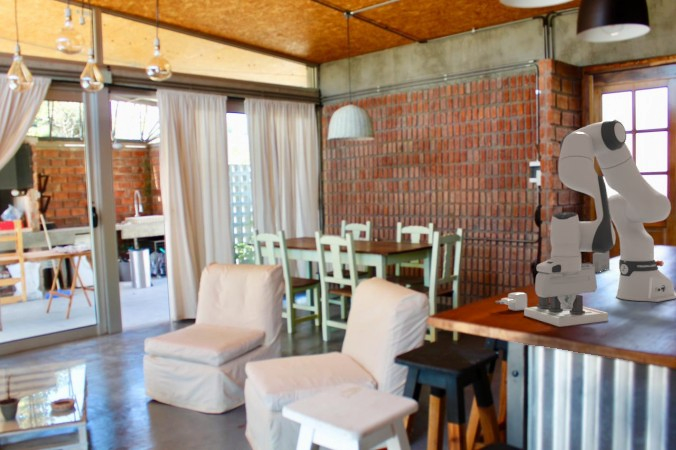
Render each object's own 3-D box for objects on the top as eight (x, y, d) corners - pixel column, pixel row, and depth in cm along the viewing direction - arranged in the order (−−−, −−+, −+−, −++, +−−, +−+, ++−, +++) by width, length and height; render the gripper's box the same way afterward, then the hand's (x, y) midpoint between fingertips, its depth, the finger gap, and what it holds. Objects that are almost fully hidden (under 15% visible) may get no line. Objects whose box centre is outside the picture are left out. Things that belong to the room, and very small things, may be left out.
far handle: (545, 306, 196) (544, 289, 195) (551, 307, 193) (550, 290, 192) (536, 307, 195) (536, 290, 194) (542, 308, 192) (542, 291, 191)
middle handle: (556, 309, 190) (556, 292, 190) (562, 311, 187) (562, 293, 187) (548, 310, 189) (547, 293, 189) (554, 312, 186) (554, 294, 186)
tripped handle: (578, 311, 185) (577, 294, 185) (585, 313, 182) (584, 295, 182) (569, 312, 184) (569, 295, 184) (576, 314, 181) (576, 296, 181)
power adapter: (502, 313, 200) (502, 296, 200) (493, 310, 204) (493, 294, 204) (529, 309, 204) (528, 293, 203) (520, 307, 208) (519, 291, 208)
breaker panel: (570, 310, 200) (569, 302, 200) (608, 320, 183) (608, 312, 183) (524, 315, 195) (524, 307, 195) (559, 326, 178) (558, 318, 178)
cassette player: (603, 268, 295) (603, 248, 294) (609, 268, 293) (609, 249, 292) (593, 272, 283) (592, 252, 283) (598, 272, 281) (598, 252, 281)
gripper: (587, 261, 187) (588, 303, 188) (531, 266, 182) (532, 310, 182) (601, 263, 181) (602, 307, 182) (544, 268, 176) (545, 314, 176)
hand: (567, 308), depth 182 cm, fingers closed
